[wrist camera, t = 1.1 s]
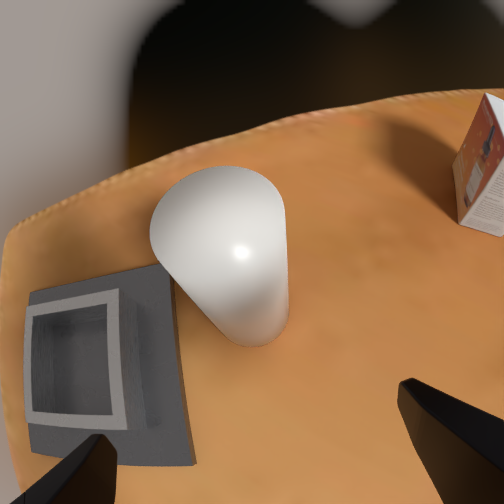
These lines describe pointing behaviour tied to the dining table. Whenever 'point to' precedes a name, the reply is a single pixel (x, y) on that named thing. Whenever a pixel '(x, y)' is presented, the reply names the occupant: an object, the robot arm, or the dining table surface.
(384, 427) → the dining table surface
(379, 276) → the dining table surface
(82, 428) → the duct collar
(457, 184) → the small box
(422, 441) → the robot arm
